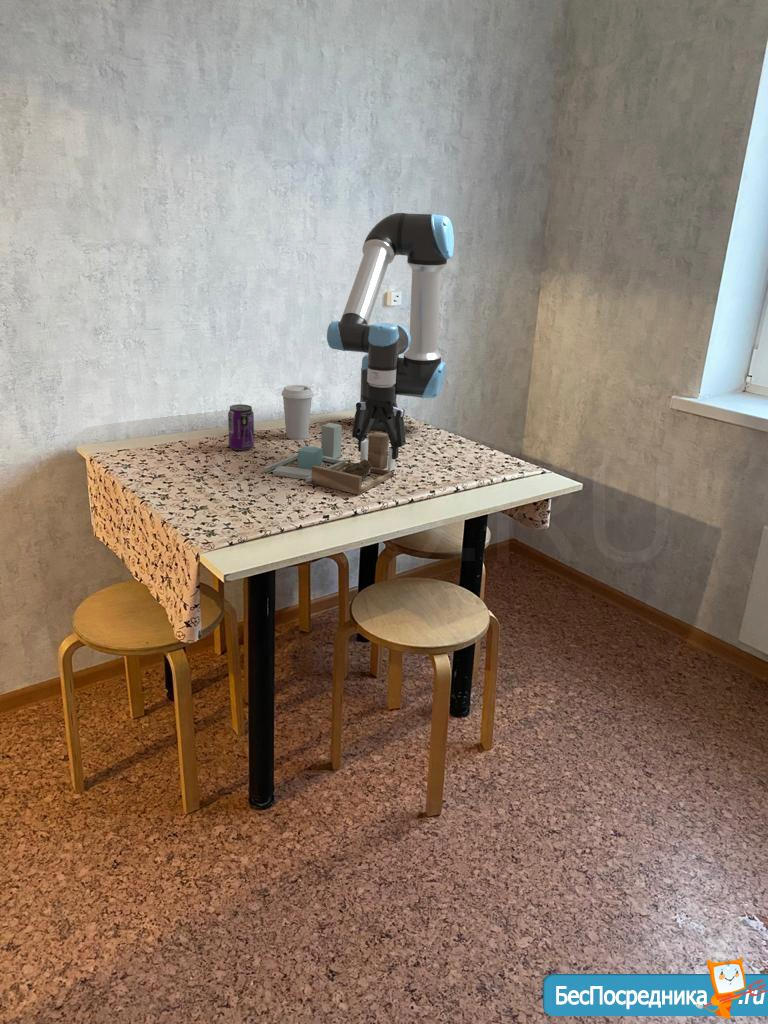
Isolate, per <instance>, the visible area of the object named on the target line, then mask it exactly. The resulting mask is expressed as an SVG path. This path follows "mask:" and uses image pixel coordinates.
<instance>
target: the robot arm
mask: <svg viewBox="0 0 768 1024" xmlns="http://www.w3.org/2000/svg"><path fill="white" fill-rule="evenodd" d="M454 248H455V236H454V229H453V224H452V222H451V220H450V218H449V217H447V216H446V215H439V214H435V213H432V214H431V213H409V212H408V213H405V212H395V213H391V214H389V215H387V216H385V217H384V218H382V219H381V220H380V221H379V222H378V223H376V224H375V226H373V227H372V229H371V230H370V231H369V232H368V234H367V235H366V238H365V239H364V242H363V245H362V248H361V249H362V250H361V251H362V254H363V256H362V259H361V262H360V264H359V267H358V270H357V273H356V275H355V279H354V281H353V285H352V288H351V290H350V293H349V296H348V299H347V302H346V305H345V307H344V310H343V312H342V316H341V319H340V321H339V320H337V321H331V323H329V325H328V327H327V331H326V341H327V345H328V347H329V348H330V349H332V350H337V351H342V352H345V351H346V352H354V353H355V352H358V353H365V355H363V357H362V359H361V368H360V397H359V401H358V402H357V403H356V402H355V408H356V410H355V414H354V415H353V416H354V417H353V428H352V433H351V437H352V438H355V439H356V440H357V442H358V443H357V444H358V445H357V446H358V448H357V450H358V451H357V452H359V453H360V455H359V456H360V457H359V463H360V462H361V461H362V460H364V459H367V460H368V439H367V438H368V437H367V436H368V435H369V432H370V430H375V431H376V430H377V431H386V434H388V437H389V442H390V443H389V444H390V447H389V446H388V462H387V470H388V471H394V470H395V469H396V460H397V459H398V458H399V453H400V452H399V451H400V448H402V447H403V446H405V445H406V444H407V440H406V432H405V431H406V430H405V420H404V417H405V414H406V413H405V411H406V410H405V409H404V408H398V404H397V396H398V395H399V396H407V397H413V398H421V399H436V398H437V397H439V395H440V394H441V391H442V389H443V385H444V383H445V382H444V381H445V378H446V373H447V364H446V362H444V361H442V354H441V352H439V350H437V348H438V347H437V345H438V331H439V329H438V328H439V317H440V316H439V313H440V311H439V310H440V297H441V296H440V295H441V279H442V278H441V277H442V269H444V267H446V266H447V263H448V260H450V259H451V258H452V257H453V255H454ZM396 256H407V260H406V261H407V262H406V263H407V264H408V265H409V267H410V268H411V288H410V289H411V293H410V314H409V330H408V329H407V328H406V327H404V326H403V325H399V324H398V325H397V324H394V323H387V322H378V323H372V324H369V322H370V319H371V316H372V313H373V310H374V308H375V304H376V302H377V299H378V295H379V292H380V289H381V287H382V285H383V284H382V283H383V282H384V278H385V275H386V272H387V270H388V265H390V264H391V263H392V262H393V261H394V259H395V257H396ZM402 354H403V357H400V355H402Z"/></svg>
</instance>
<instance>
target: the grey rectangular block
mask: <svg viewBox="0 0 768 1024" xmlns="http://www.w3.org/2000/svg"><path fill="white" fill-rule="evenodd" d="M272 475H273V476H279V477H285V478H294V479H299V480H300V479H301V480H306V478H307V477H309V476H311V475H312V470H309V469H302V468H298V467H293V466H292V467H291V466H286V465H285V466H284V465H282V466H278V467H277V468H275V469H272Z"/></svg>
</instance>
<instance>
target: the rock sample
mask: <svg viewBox="0 0 768 1024" xmlns="http://www.w3.org/2000/svg"><path fill="white" fill-rule="evenodd" d="M354 463H355V464H352V465H350V466H347V467H346V468H343V469H341V470H339V471H340V472H345V473H349V474H353V475H357V476H362V479H363V478H364V477H367V476H368V475H369V474H370V472H371V471H370V470H371V469H373V468H372V467H371V465H370V463H369V461H368V458H367V459H364V460H362V461H361V462H360V461H359V462H354Z"/></svg>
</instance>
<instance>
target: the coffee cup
mask: <svg viewBox="0 0 768 1024" xmlns="http://www.w3.org/2000/svg"><path fill="white" fill-rule="evenodd" d="M281 396H282V398H283V399H282V402H283V411H284V425H285V433H286V435H285V436H286V438H287V439H290V440H295V441H296V440H297V441H298V440H299V441H300V440H302V441H303V440H306V439H308V438H309V429H310V421H311V408H312V401H313V397H314V396H315V395H314V392H313V390H312V388H311V386H307V385H301V384H292V385H291V384H290V385H286V386H284V387H283V390H282V391H281Z"/></svg>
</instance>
